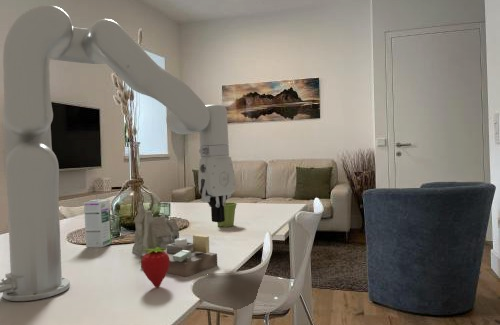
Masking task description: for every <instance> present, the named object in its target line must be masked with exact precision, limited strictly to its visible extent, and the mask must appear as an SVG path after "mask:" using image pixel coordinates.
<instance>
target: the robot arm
mask: <svg viewBox="0 0 500 325" xmlns="http://www.w3.org/2000/svg"><path fill="white" fill-rule="evenodd" d="M3 43H4V45H3V52H2V68H3V69H2V70H3V73H2V75H3V78H2V79H3V93H4V94H3V95H4V96H3V97H4V98H3V108H2V118H3V119H2V122H3V123H2V124H3V136H4V137H3V138H4V149H5V150H4V152H5V180H6V182H5V183H6V196H7V199H6V201H7V202H6V203H7V221H8V242H9V262H10V263H9V264H10V265H9V266H10V272H9V273H8V272H7V273H5V276H4V278H2V279H0V294H1V293H2V297H3V299H4V300H7V301H11V302H29V301H38V300H42V299H46V298H51V297H53V296H57V295H59V294H62V293H64V292H65V291H68V289H69V288H70V287H71V282H70V279H68V278H66V277H62V276H63V275H62V256H61V255H62V253H61V252H62V249H61V227H60V226H61V225H60V204H59V202H60V201H59V198H60V197H59V196H60V195H59V192H60V191H59V188H60V187H59V183H60V182H59V181H60V168H59V167H60V166H59V161H58V158H57V155H56V154H55V152H54V151H53V147H52V130H51V124H52V122H53V119H54V111H53V107H52V106H53V105H52V98H51V97H52V96H51V95H52V94H51V85H50V83H51V82H50V77H51V76H50V61H51V60H53V61H61V62H70V63H78V64H89V65H106V66H108V67H109V68H110V69H111V70H112V71H113V72H114V73H115V74H116V75H117V77H119V78H120V79H121V80H122V81H123V82H124V83H125V84H126V85H127V86H128V87H129V88H130V89H131V90H133V91H135V92H136V93H138V94H141V95H145V96H147V97H150V98H151V99H153V100H156V101H157V102H159V103H161V104H162V105H163V106H165V108H166V109H168V110H169V111H168V113H167V116H166V118H165V119H166V124H167V128H169V130H170V131H171V132H173V133H174V134H177V135H188V134H195V133H198V134H199V150H198V152H199V154H200V158H199V162H198V177H197V178H198V179H197V180H198V182H197V183H198V193H199V195H200V196H201V201H202V202H204V203H207V204H208V207H210V213H211V221H212V223H217V222H224V221H225V216H224V206H225V205H226V202H227V200H228V199H229V198H231V197H232V194H234V192H236V180H235V179H236V178H235V170H234V165H233V161H232V157H231V156H230V150H229V148H230V147H229V131H228V130H229V129H228V128H229V127H228V126H229V125H228V111H227V108H226V106H224V105H221V104H205V102H204V101H203V100H202V99H201V98H200V97H199V95H197V94H196V92H194V90H193V89H192V88H190V86H188V85H187V84H186V83H185V82H184V81H182V80H181V79H180V78H179V77H177V76H175V75H174V74H173V73H171V72H170V71H168V70H167V69H165V68H163V67H162V66H160V65H158V63H156V62H155V61H154V60H153V58H152V57H151V56H150V55H149V54H148V53H147V52H146V51H145V50H144V49H143V48H142V47H141V45H139V43H137V42H136V40H134V39H133V37H132V36H130V34H129V33H128V32H127V31H126V30H125V29H124V28H123V27H122V26H121V25H120V24H119V23H117V21H114V20H113V19H109V18H104V19H103V18H102V19H99V20H96V21H95V22H94V23H92V25H90V27H89V28H83V27H75V26H74V24H73V22H72V19H71V18H70V16H69V14H68V13H67V12H66V11H64V9H62V8H60V7H59V6H56V5H52V4H51V5H50V4H44V5H43V4H42V5H37V6H34V7H32V8H30V9H29V10H26V11H24V12H23V13H22V14H21V15H19V16H18V17H17V18H16V20H14V21H13V23H12V24H11V26H10V28H9V30H8V32H7V33H6V36H5V40H4V42H3Z"/></svg>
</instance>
